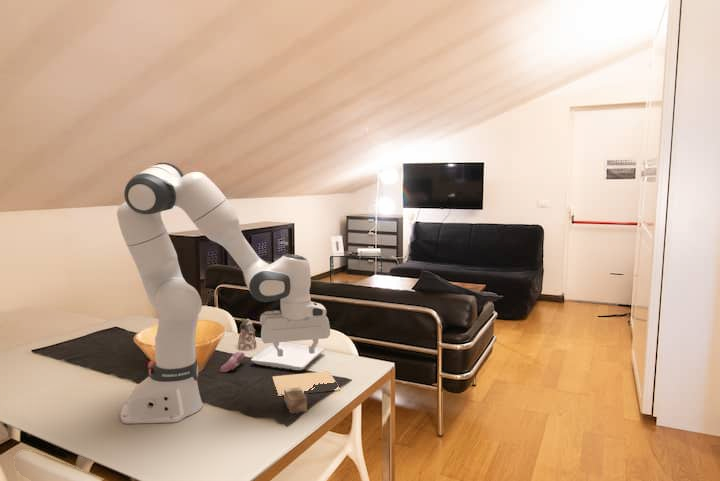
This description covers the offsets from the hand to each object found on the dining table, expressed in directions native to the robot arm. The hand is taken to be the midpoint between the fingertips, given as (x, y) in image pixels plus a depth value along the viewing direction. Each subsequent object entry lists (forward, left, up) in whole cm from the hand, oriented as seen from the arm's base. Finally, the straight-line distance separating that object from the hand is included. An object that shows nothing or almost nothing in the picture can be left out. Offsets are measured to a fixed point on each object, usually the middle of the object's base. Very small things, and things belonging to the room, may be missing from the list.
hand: (296, 354), depth 154 cm
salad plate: (+4, +39, -17) cm, 43 cm away
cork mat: (+6, +16, -17) cm, 24 cm away
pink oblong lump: (-17, +36, -17) cm, 43 cm away
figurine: (-10, +57, -17) cm, 60 cm away
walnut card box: (0, 0, -17) cm, 17 cm away
